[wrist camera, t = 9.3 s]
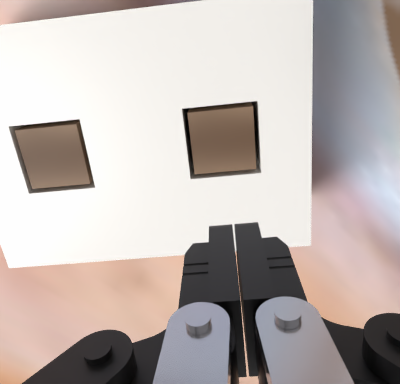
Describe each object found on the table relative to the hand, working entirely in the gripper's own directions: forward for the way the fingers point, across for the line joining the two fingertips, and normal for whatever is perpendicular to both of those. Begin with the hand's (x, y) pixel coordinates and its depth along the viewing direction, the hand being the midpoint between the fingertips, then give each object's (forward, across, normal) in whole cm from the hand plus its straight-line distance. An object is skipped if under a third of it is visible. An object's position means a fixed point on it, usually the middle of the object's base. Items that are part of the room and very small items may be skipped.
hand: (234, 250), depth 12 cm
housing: (+21, +6, 0) cm, 22 cm away
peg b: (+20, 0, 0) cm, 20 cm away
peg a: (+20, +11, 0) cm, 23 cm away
